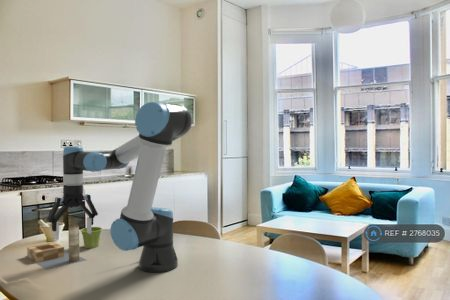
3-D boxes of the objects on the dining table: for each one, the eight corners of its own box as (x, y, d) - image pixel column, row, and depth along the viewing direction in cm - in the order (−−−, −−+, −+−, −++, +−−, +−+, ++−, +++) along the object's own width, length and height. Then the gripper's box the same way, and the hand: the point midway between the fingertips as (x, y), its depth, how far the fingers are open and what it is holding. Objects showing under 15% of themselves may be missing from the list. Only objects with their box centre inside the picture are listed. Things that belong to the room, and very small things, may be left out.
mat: (86, 261, 158) (86, 260, 158) (46, 270, 146) (46, 269, 146) (62, 249, 174) (62, 248, 174) (24, 257, 163) (24, 256, 163)
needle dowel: (81, 260, 157) (80, 222, 157) (71, 262, 154) (71, 224, 154) (76, 258, 160) (76, 221, 159) (67, 260, 157) (66, 222, 157)
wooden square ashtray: (64, 256, 163) (64, 247, 162) (37, 262, 155) (36, 252, 155) (53, 251, 170) (53, 242, 170) (27, 256, 162) (27, 247, 162)
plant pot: (98, 250, 173) (98, 231, 173) (77, 250, 174) (77, 231, 173) (105, 244, 183) (104, 226, 183) (85, 244, 183) (85, 226, 183)
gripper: (97, 181, 168) (97, 229, 168) (37, 185, 150) (37, 239, 151) (106, 182, 162) (105, 232, 163) (45, 187, 145) (45, 243, 145)
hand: (73, 236), depth 157 cm, fingers open, 13 cm apart
